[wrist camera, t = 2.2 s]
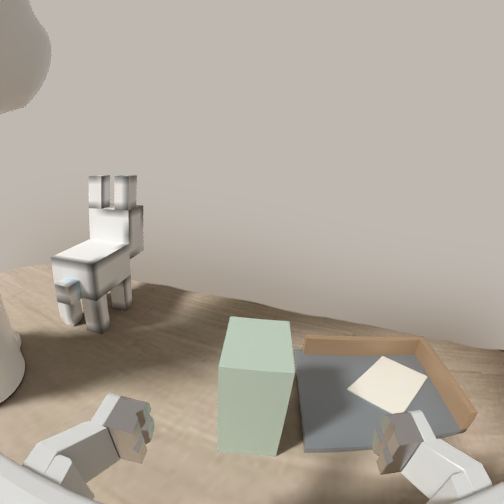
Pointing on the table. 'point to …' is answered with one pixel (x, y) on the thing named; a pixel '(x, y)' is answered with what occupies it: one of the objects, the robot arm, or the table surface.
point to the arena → (372, 389)
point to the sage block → (254, 386)
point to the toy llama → (101, 255)
